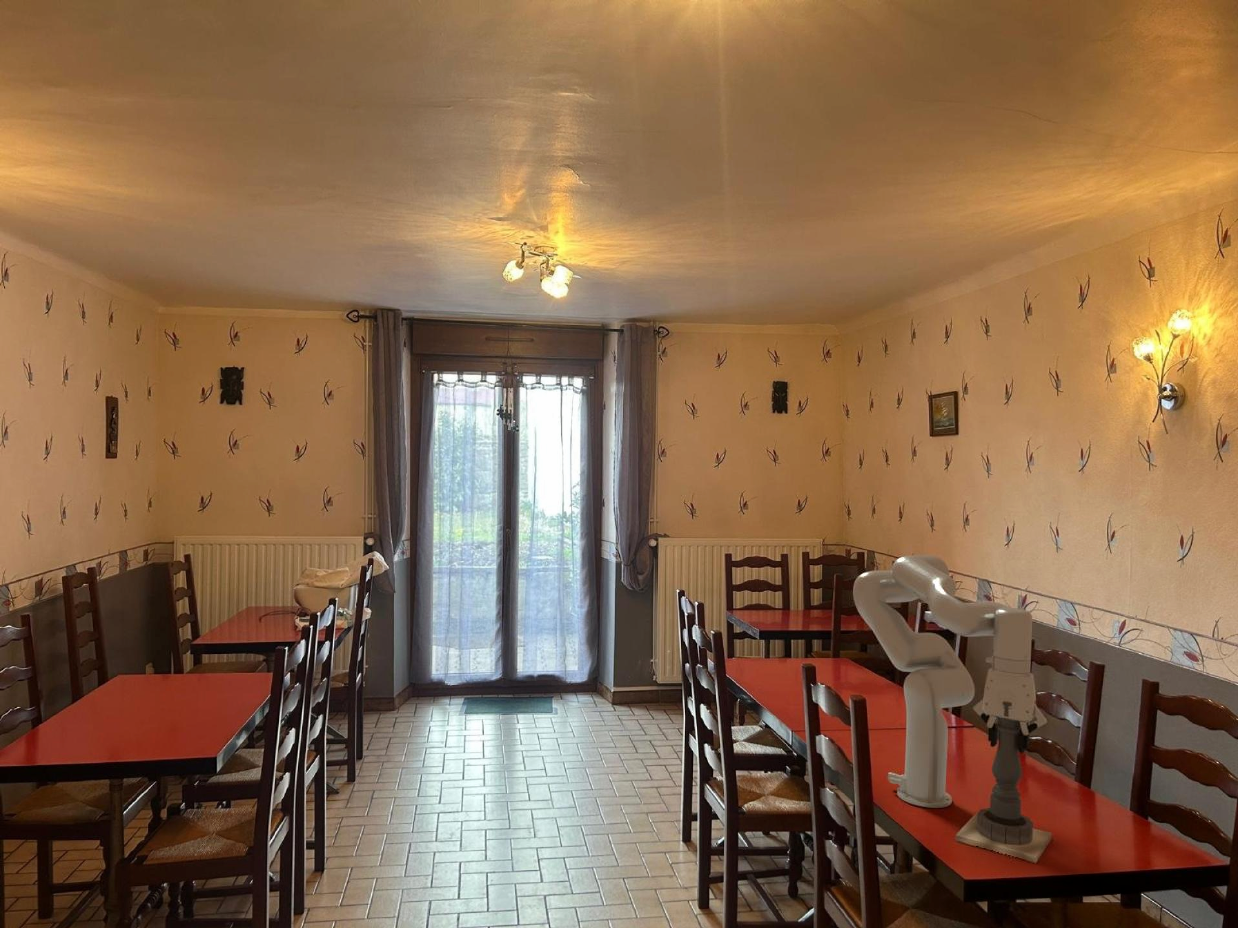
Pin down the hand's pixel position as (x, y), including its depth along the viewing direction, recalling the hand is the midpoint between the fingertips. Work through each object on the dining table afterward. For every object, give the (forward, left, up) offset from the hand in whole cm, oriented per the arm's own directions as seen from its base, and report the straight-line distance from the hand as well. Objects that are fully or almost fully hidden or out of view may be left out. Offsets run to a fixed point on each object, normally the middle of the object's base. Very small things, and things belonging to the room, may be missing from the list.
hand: (1007, 747), depth 189 cm
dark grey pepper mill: (0, 0, -15) cm, 15 cm away
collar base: (0, 0, -20) cm, 20 cm away
